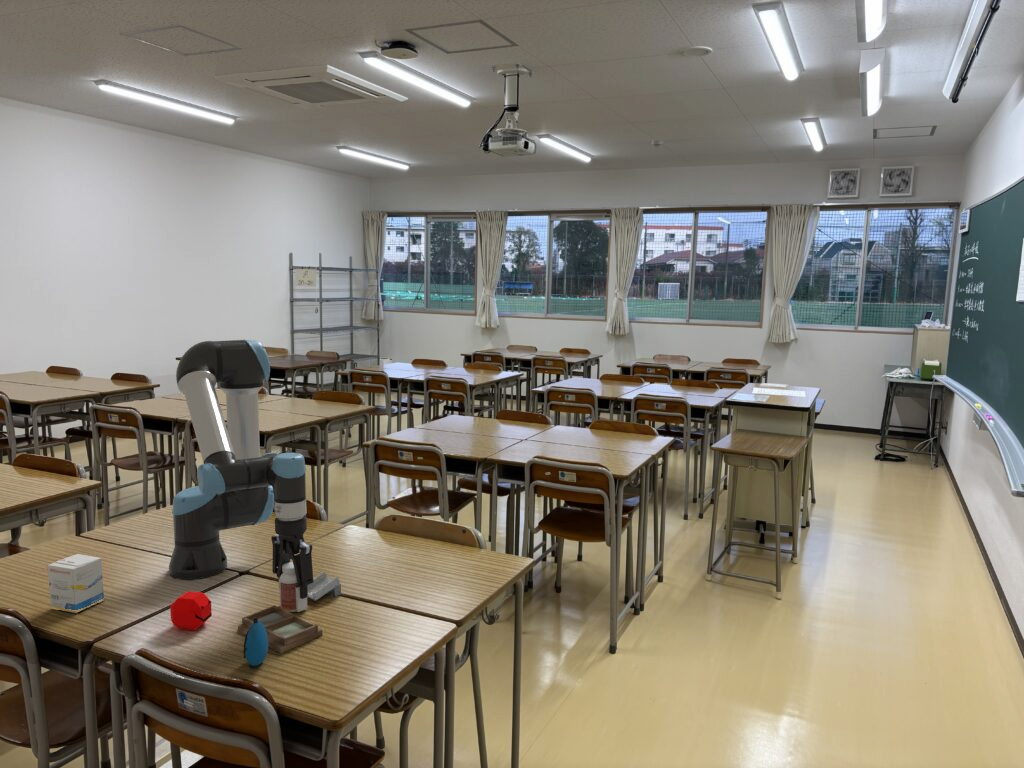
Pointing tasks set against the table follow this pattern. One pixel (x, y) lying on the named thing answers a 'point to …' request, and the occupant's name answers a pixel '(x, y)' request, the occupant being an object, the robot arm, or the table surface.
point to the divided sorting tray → (282, 628)
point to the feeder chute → (323, 587)
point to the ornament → (256, 643)
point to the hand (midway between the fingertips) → (293, 605)
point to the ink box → (75, 582)
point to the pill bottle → (288, 588)
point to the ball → (190, 610)
